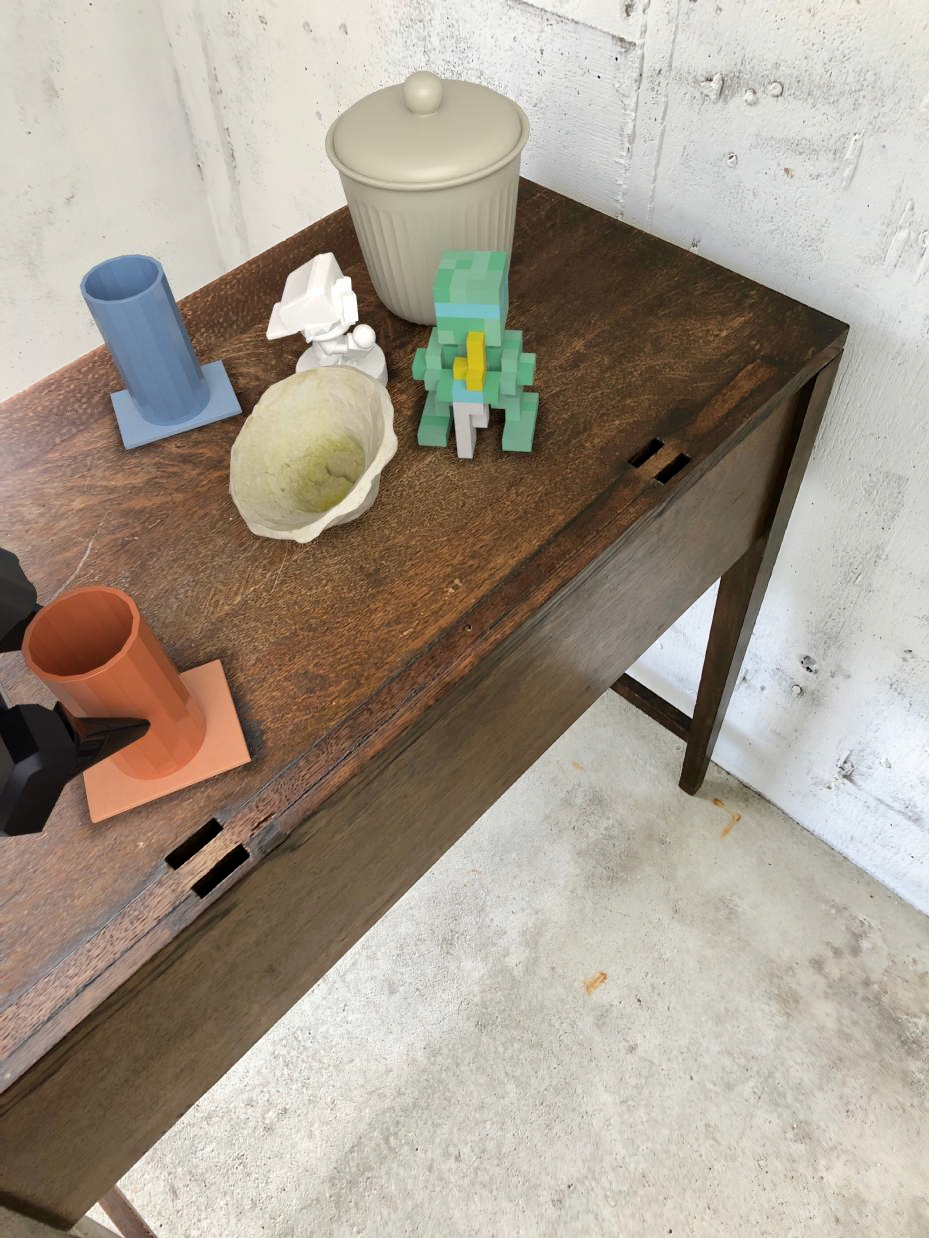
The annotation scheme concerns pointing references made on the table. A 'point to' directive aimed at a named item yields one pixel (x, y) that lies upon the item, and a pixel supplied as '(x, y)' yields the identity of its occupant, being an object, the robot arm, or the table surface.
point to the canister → (428, 180)
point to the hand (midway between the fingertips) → (117, 677)
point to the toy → (474, 357)
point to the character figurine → (326, 319)
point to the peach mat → (215, 756)
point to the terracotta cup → (116, 676)
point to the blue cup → (146, 338)
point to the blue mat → (144, 432)
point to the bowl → (312, 452)
